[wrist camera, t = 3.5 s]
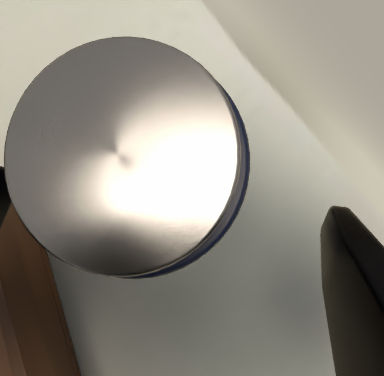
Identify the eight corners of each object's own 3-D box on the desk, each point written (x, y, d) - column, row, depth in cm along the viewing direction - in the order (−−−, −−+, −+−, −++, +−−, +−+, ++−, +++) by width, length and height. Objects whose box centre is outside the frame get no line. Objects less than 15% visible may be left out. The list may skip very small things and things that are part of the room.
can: (242, 217, 17) (294, 243, 5) (165, 242, 18) (30, 325, 5) (216, 141, 18) (204, -16, 5) (141, 166, 18) (-39, 74, 6)
